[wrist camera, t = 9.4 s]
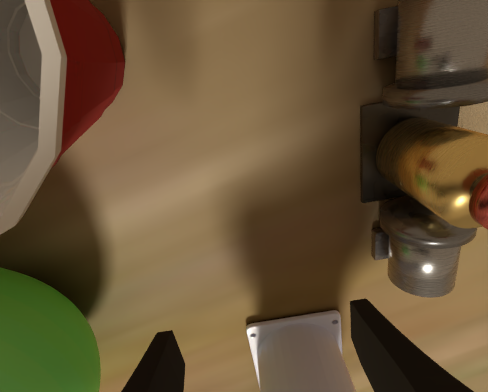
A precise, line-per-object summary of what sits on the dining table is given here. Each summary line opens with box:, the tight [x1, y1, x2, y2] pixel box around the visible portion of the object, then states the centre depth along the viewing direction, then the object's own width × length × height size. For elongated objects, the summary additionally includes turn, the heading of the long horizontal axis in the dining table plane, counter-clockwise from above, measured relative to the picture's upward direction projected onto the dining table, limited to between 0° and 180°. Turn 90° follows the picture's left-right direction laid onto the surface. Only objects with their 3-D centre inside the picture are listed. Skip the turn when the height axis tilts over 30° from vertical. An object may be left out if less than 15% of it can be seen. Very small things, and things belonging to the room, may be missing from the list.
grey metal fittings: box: [360, 0, 488, 297], centre depth 17 cm, size 17×6×5 cm, turn 10°
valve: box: [376, 118, 488, 229], centre depth 15 cm, size 4×4×8 cm
